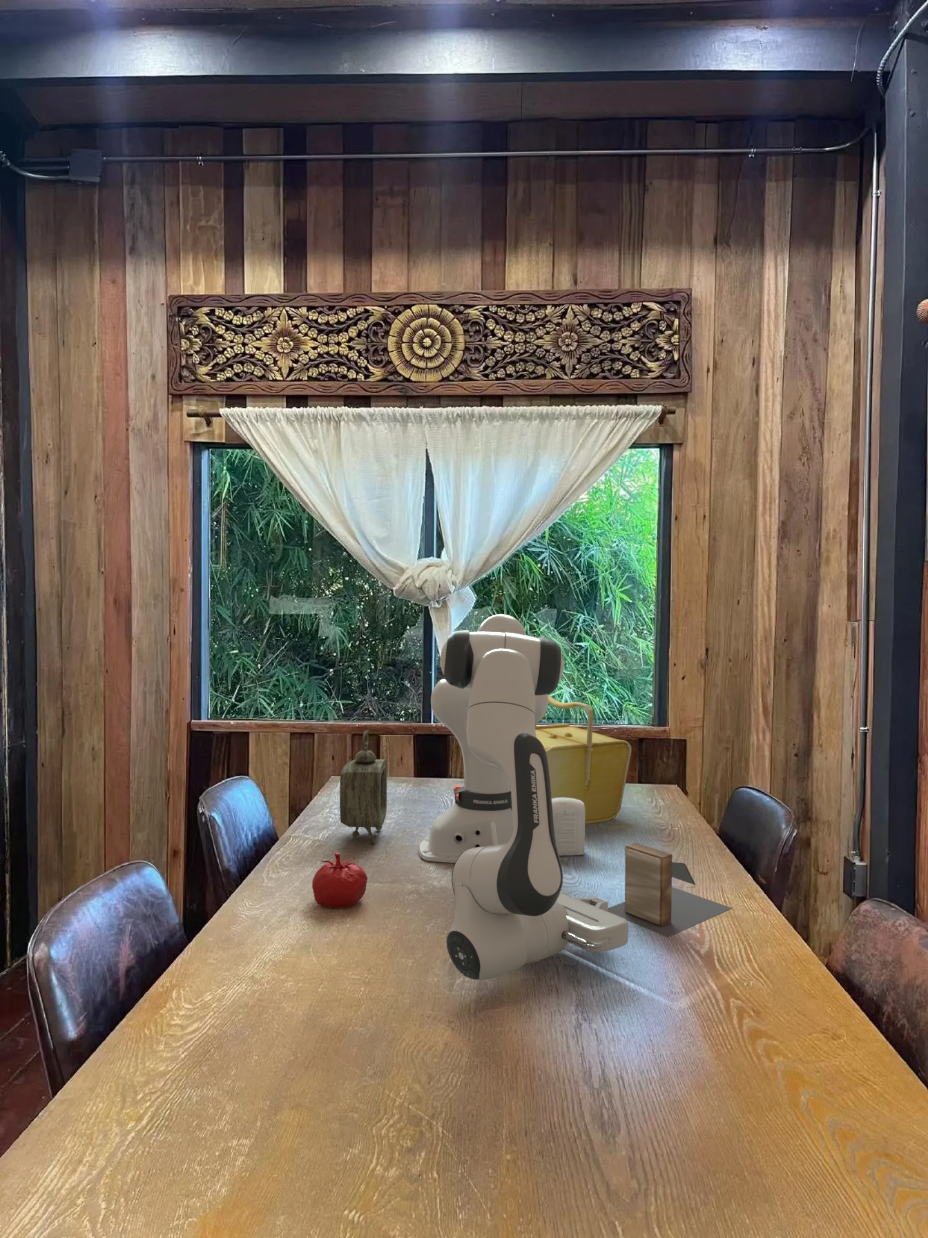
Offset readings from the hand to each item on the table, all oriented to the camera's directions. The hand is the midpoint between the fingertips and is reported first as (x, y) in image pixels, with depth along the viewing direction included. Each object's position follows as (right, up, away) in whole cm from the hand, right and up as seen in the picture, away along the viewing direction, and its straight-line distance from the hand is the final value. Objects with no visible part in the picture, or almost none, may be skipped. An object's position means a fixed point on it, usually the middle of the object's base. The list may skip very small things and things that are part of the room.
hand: (601, 903), depth 129 cm
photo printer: (-1, -5, +43) cm, 43 cm away
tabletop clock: (-46, -4, +54) cm, 71 cm away
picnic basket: (+2, -4, +76) cm, 76 cm away
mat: (+14, -6, +12) cm, 19 cm away
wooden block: (+9, -5, +8) cm, 13 cm away
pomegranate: (-45, -6, +16) cm, 49 cm away
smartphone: (+20, -6, +30) cm, 36 cm away
